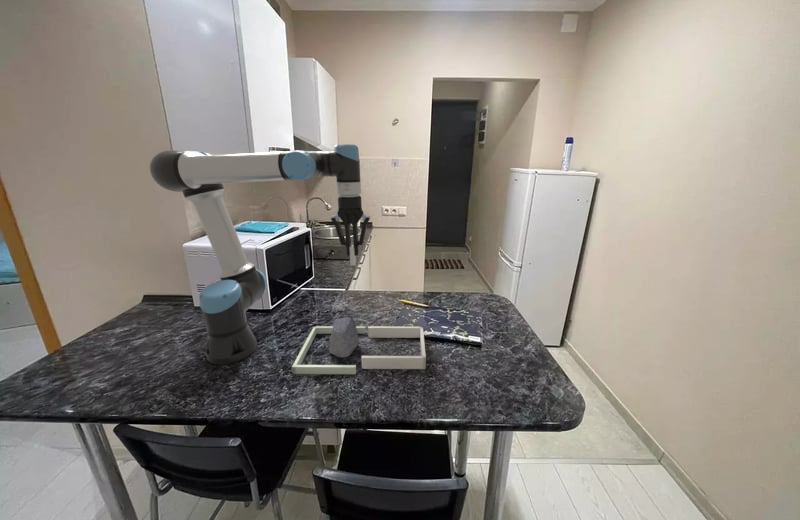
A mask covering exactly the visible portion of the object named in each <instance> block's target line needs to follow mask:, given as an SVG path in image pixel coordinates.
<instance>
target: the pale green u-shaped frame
mask: <svg viewBox="0 0 800 520" xmlns="http://www.w3.org/2000/svg"><path fill="white" fill-rule="evenodd" d="M332 329H333V325H332V326H331V325H329V326H326V325H324V326H322V325H321V326H320V325H317V326H316V325H315V326H313V327H312V330H311V331H310V333H309V334H308V336H307V338H306V340H305V342H304V344H303V345H302V347H301V349H300V351H299V353H298V355H297V357H296V358H295V361H294V362H293V364H292V366H291V371H292V375H356V374H357V365H356V364H302V363H303V361H304V359H305V357H306V355H307V353H308V351H309V349H310V348H311V346H312V344H313V341H314V339H315V337H316V335H325V334H329V335H331V333H332ZM356 330H357V334H359V335H366V326H363V325H362V326H361V325H360V326H359V325H356Z"/></svg>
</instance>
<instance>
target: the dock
mask: <svg viewBox="0 0 800 520" xmlns="http://www.w3.org/2000/svg"><path fill="white" fill-rule="evenodd" d="M367 335H368V338H371V339H373V338H375V339H376V338H378V339H380V338H382V339H383V338H387V339H389V338H390V339H391V338H393V339H398V338H400V339H402V338H405V339H406V338H407V339H410V338H411V339H412V338H413V339H414V338H415V339H417V338H418V339H419V340H420V341H419V342H420V354H421V355H361V360H360V361H361V369H364V370H427V369H426V368H427V367H426V366H427V365H426V364H427V355H426V347H425V346H426V345H425V336H424V327H423V326H403V325H402V326H396V325H395V326H394V325H393V326H384V325H383V326H379V325H378V326H377V325H376V326H373V325H372V326H371V325H369V326H368V327H367Z"/></svg>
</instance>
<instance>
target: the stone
mask: <svg viewBox="0 0 800 520" xmlns="http://www.w3.org/2000/svg"><path fill="white" fill-rule="evenodd" d="M332 326H333V329H332V333H331V334H330V337H329V349H328V350H329V353H330V354H331V355H333V356H335V357H337V358H348V357H350V355H352V353H353V352H354V350H356V348H357V346H358V345H359V343H360V340H359V339H360V337H359V335H358V334H357V330H356V326H357V325H356V321H355V319H354V318H353V317H351V316H349V315H348V316H347V315H345V316H339V317H336V318H335V319H334V320H333V324H332Z"/></svg>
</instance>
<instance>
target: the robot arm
mask: <svg viewBox="0 0 800 520" xmlns="http://www.w3.org/2000/svg"><path fill="white" fill-rule="evenodd" d="M333 148H334V149H333V150H332V151H311V150H309V151H308V150H301V149H296V150H290V151H274V152H273V151H271V152H268V151H267V152H252V153H251V152H250V153H234V154H232V153H231V154H211V153H208V152H204V151H199V150H164V151H161V152H158V153H157V154H155V156H154V157H152V159H151V161H150V164H149V171H150V175H151V177H152V178H153V181H155V182H156V184H157V185H159V186H160V187H161V188H163V189H165V190H168V191H171V192H175V193H176V192H178V193H179V192H181V193H182V194H183V197H184V199H185V200H187V201H190V202H191V203H193V206H194V208H195V210H196V214H197V215H198V217H199V219H200V220H199V221H200V222H201V224H202V227H203V229H204V232H205V234H206V236H207V238H208V240H209V244H210V246H211V248H212V250H213V252H214V254H215V257H216V259H217V262H218V264H219V267H220V268H221V272H220V274H219V278H220V280H219V281H216V282H212V283H210V284H208V285H207V286H205V287H204V288H202V289H201V290H200V292H199V295H198V297H199V298H198V301H199V307H200V309H201V314H202V317H203V322H204V325H205V329H206V334H207V340H206V345H205V350H204V351H205V353H204V354H205V356H206V360H207V362H209V363H210V364H213V365H221V366H222V365H229V364H233V363H236V362H240V361H241V360H244V359H245V358H247V357H249V356H250V355H252V354H253V353H254V352H255V351H256V350H257V348H258V342H257V338H256V335H254V333H253V331H252V329H251V328H250V327H249V325H248V321H247V315H246V312H247V311H248V310H249V309H251V307H252V306H253V305H254V304H255V303H256V302H258V301H259V300H261V298H262V297H263V295H264V294H265V293H266V291H267V287H268V281H267V277H266V276H265V274H264V273H263V272H262V271H260V270H259V269H257V268H256V266H255V264H254V263H252V262H251V261H248V259H247V256H246V254H245V251H244V249H243V246H242V242H241V241H240V239H239V235H238V234H237V231H236V228H235V225H234V223H233V221H232V219H231V216H230V213H229V211H228V208H227V205H226V203H225V200H224V198H223V193H224V192H225V188H224V184H235V183H236V184H237V183H255V182H256V183H257V182H275V181H278V182H279V181H299V182H300V181H301V182H302V181H306V180H309V179H313V178H319V177H320V178H321V177H323V178H324V177H325V178H326V177H335V178H336V193H337V195H338V197H337V203H338V204H337V205H338V210H337V212H336V213H337V214H336V215H334V216H332V217H331V218H330V219H331V222H332V223H333V225H334V227H335V230H336V234H337V237H338V239H339V243H340V245H341V246H345V247H346V255H347V257H348V256H349V260H350V266H356V264H357V256H359V253H360V251H359V247H360V246H362V245H363V244H364V241H365V237H366V231H367V227H368V226H367V225H368V223H369V221H371V220H370V219H371V216H370V215H367V214H365V213H364V210H363V207H362V197H361V194H362V188H361V187H362V185H361V160H360V153H359V152H360V151H359V147H358V145H356V144H348V143H347V144H335V145H334V146H333ZM361 218H362V222H363V223H362V225H361V231H360V235H359V229H358V226H359V222H360V220H361ZM340 220H341V221H342V222H343V225H344V231H343V228H342V226H341V222H340ZM351 227H352V238H351ZM344 233H345V235H344ZM359 236H360V237H359ZM351 240H353V244H352V241H351Z"/></svg>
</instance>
